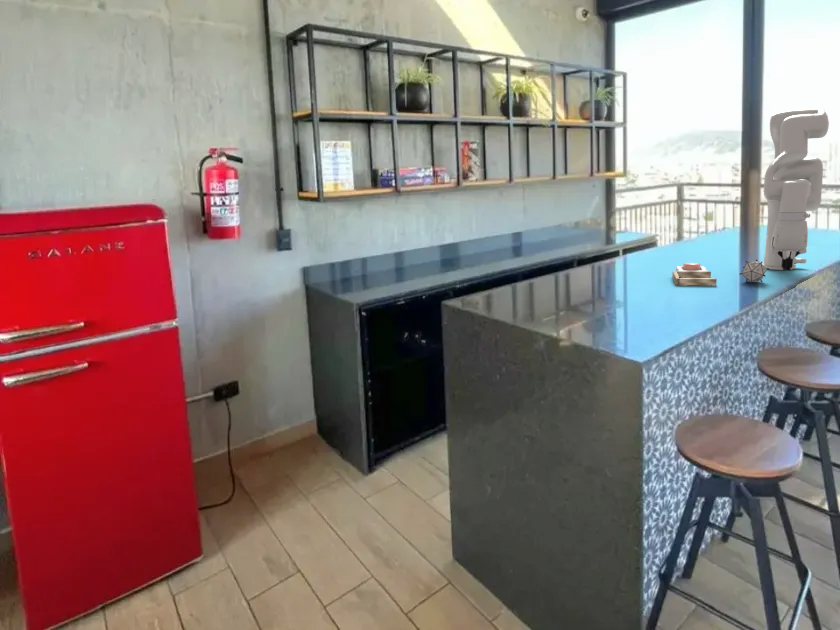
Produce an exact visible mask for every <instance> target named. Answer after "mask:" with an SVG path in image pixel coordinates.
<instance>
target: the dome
mask: <svg viewBox="0 0 840 630" xmlns="http://www.w3.org/2000/svg"><path fill="white" fill-rule="evenodd" d="M682 266H683V270H700V266H701V264H700V263H697V262H684V263H683V265H682Z"/></svg>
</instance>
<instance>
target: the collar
mask: <svg viewBox="0 0 840 630" xmlns="http://www.w3.org/2000/svg"><path fill="white" fill-rule="evenodd" d="M675 268H676V269H675V271H708V270H707V268H706V267H705V266H704V265H702V266H701V265H700V270H683V265H681V266H680V265H677V266H675Z"/></svg>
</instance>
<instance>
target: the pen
mask: <svg viewBox="0 0 840 630" xmlns="http://www.w3.org/2000/svg"><path fill="white" fill-rule="evenodd" d="M711 276H712V271H711V270H707V271H676V270H672V274H671V277H672V280H673V282H674V285H675V284H676V285H675V286H687V285H702V287H717V281H718V280H717V278H711ZM679 277H684V278H679ZM685 277H686V278H685ZM703 285H704V286H703ZM705 285H706V286H705ZM711 285H712V286H711Z"/></svg>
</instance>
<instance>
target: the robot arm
mask: <svg viewBox="0 0 840 630" xmlns="http://www.w3.org/2000/svg"><path fill="white" fill-rule="evenodd" d="M829 123H830V122H829V117H828V114H827V112H826V111H825V109H824V108H821V107H813V108H811V107H810V108H798V109H797V108H796V109H787V110H780V111H777V112H775V113H773V114H772V115H771V117H770V120H769V131H770V132H769V133H770V137H771V140H772V143H773V145H774V158H773V159H774V160H773V161H771V163H770V164H769V165H768V167H767V168H766V170H765V174H764V182H763V196H764V199H766V201H767V223H766V224H767V225H766V236H765V245H764V246H765V247H764V256H763V263H761V262H760V263H761V264H762V265H763V266H764V267H765V268H766V269H767V268H769V270H771V271H772V270H774V271H784V272H785V271H789V272H790V271H791V270H794V269H796V268H797V265H796V264H806V263H807V258H798V256H799V255H802V254H806V253H807V247H808V241H809V240H808V236H809V234H808V233H809V231H808V222H807V221H806V219H808V218H810V217H811V213H807V212H815V211H816V210H818V209H819V207H820V206H821V202H822V192H823V175H824V166H823V162H822V160H821V159H820V158H818V157H807V156H808V154H809V152H808V151H809V149H808V148H809V145H808V144H809V143H808V141H809V139H819V138H822V139H823V137H825V136H826V135H827V133H828V131H829V126H830V125H829Z"/></svg>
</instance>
